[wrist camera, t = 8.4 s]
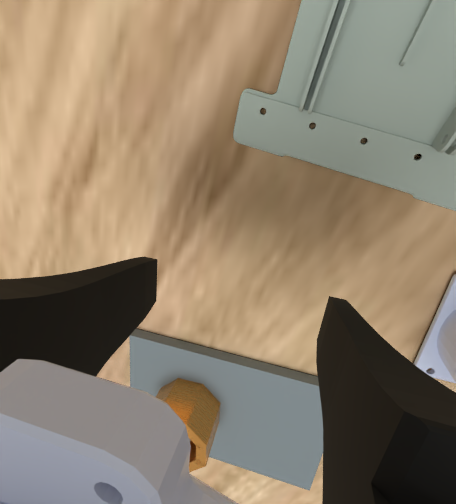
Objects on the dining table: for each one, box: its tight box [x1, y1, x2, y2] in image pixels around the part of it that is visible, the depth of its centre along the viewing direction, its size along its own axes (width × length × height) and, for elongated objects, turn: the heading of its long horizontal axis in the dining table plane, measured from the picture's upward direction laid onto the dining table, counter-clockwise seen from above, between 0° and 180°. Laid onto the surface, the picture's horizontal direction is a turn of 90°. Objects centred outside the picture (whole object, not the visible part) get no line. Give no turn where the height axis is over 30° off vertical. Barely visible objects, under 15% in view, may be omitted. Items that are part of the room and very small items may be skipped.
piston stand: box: [130, 329, 323, 490], centre depth 24 cm, size 18×12×6 cm, turn 85°
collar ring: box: [156, 378, 221, 472], centre depth 25 cm, size 6×6×4 cm
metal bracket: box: [233, 0, 456, 211], centre depth 15 cm, size 14×6×15 cm
